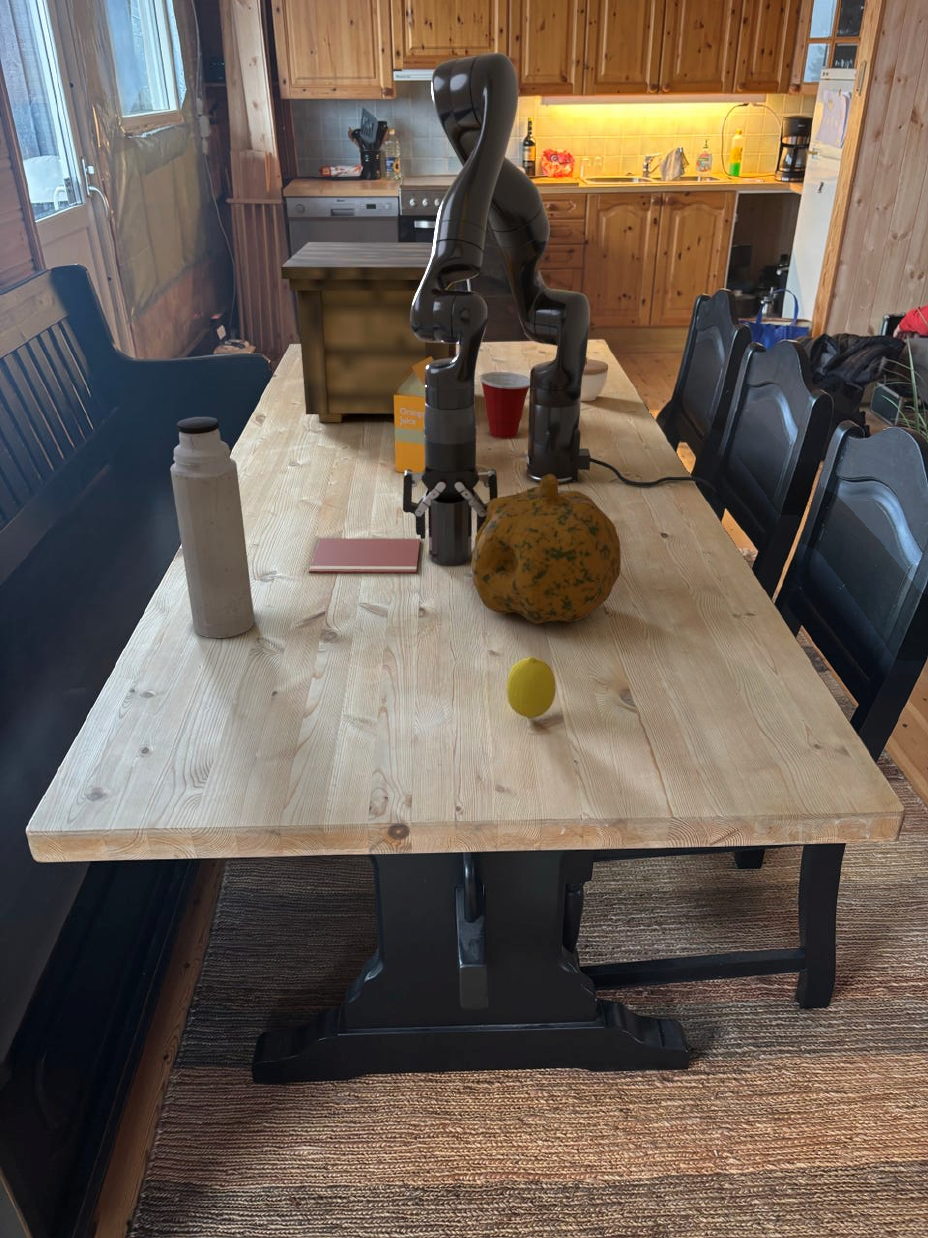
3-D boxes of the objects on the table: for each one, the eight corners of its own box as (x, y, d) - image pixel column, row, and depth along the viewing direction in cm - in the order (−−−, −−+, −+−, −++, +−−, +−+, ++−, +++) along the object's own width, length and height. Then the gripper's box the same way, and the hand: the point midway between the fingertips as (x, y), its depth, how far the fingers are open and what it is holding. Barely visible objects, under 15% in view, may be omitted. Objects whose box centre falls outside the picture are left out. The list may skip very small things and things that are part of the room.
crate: (318, 384, 239) (308, 242, 224) (461, 385, 239) (462, 242, 223) (294, 428, 208) (281, 266, 193) (459, 429, 208) (459, 267, 192)
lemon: (502, 705, 115) (504, 646, 111) (549, 703, 115) (552, 644, 111) (508, 732, 110) (510, 671, 106) (557, 730, 110) (561, 669, 106)
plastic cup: (526, 444, 199) (528, 385, 193) (474, 440, 201) (474, 382, 195) (534, 428, 209) (536, 371, 203) (484, 425, 210) (484, 369, 205)
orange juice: (395, 471, 185) (391, 364, 176) (414, 456, 192) (412, 353, 183) (433, 476, 182) (431, 368, 173) (451, 461, 190) (451, 357, 180)
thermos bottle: (214, 606, 137) (187, 408, 123) (265, 615, 134) (243, 414, 121) (182, 632, 130) (150, 426, 117) (234, 642, 128) (208, 433, 114)
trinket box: (550, 397, 230) (552, 356, 225) (580, 388, 236) (583, 349, 232) (585, 406, 223) (587, 365, 218) (615, 398, 229) (618, 357, 225)
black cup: (471, 548, 154) (471, 487, 149) (471, 565, 148) (471, 503, 144) (430, 547, 154) (429, 487, 149) (428, 565, 148) (427, 503, 144)
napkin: (420, 540, 157) (420, 538, 156) (416, 573, 146) (416, 571, 146) (319, 540, 157) (319, 538, 156) (308, 572, 146) (308, 570, 146)
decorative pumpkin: (591, 560, 148) (597, 435, 137) (634, 637, 131) (646, 502, 119) (459, 574, 145) (454, 449, 134) (486, 656, 128) (483, 519, 117)
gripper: (498, 426, 145) (497, 527, 153) (402, 425, 145) (405, 527, 153) (500, 442, 139) (498, 547, 146) (399, 441, 139) (402, 546, 146)
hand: (450, 536), depth 150 cm, fingers open, 8 cm apart
